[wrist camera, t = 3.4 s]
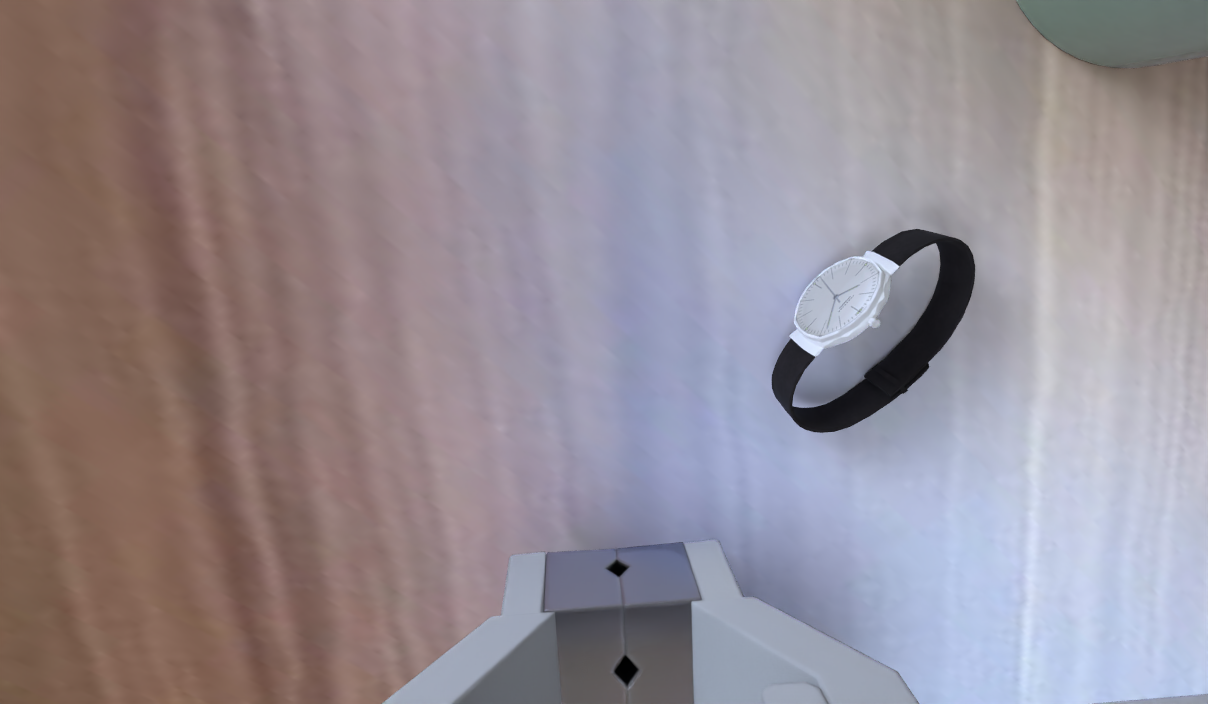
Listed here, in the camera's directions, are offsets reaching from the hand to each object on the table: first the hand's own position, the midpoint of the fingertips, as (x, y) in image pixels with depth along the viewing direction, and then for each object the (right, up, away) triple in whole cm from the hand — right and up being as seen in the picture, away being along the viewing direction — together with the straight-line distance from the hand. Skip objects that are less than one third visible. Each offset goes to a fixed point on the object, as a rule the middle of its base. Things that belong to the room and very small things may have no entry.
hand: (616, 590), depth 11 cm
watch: (+9, +4, +15) cm, 18 cm away
